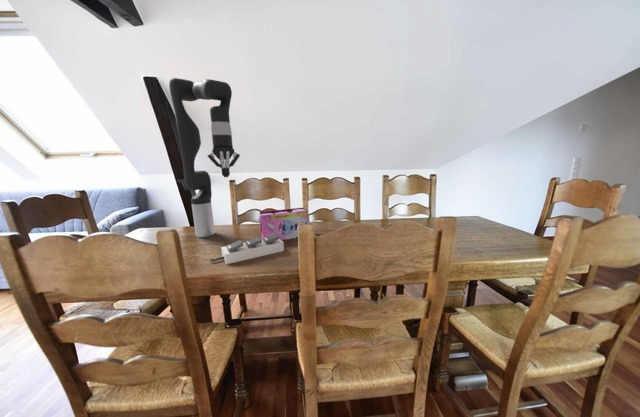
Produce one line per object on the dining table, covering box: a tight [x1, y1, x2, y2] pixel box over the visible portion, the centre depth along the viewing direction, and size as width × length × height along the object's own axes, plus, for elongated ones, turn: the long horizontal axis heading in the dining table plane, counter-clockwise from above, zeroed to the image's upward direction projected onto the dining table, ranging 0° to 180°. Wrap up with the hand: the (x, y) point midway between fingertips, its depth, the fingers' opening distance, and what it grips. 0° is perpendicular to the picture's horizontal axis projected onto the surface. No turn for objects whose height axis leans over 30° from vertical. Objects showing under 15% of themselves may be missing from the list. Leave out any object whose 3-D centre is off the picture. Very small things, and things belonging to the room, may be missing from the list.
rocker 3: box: [261, 234, 279, 244], centre depth 109 cm, size 5×6×1 cm
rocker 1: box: [226, 239, 244, 253], centre depth 101 cm, size 5×6×1 cm
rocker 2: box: [244, 236, 262, 248], centre depth 105 cm, size 5×6×1 cm
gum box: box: [258, 207, 309, 241], centre depth 126 cm, size 24×8×14 cm, turn 111°
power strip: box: [209, 238, 285, 265], centre depth 106 cm, size 9×29×5 cm, turn 121°
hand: (226, 177), depth 106 cm, fingers closed
